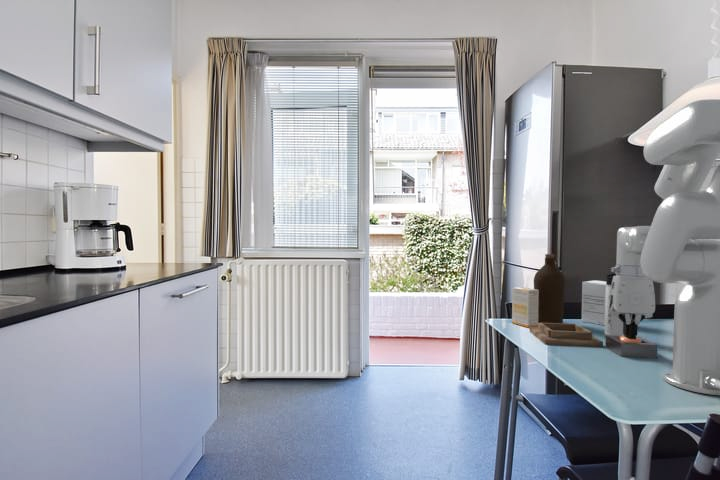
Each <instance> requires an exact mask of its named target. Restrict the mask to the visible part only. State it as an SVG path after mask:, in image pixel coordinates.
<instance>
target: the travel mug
mask: <svg viewBox="0 0 720 480" xmlns="http://www.w3.org/2000/svg"><path fill="white" fill-rule="evenodd" d="M614 276H616V274H615V272H612V273H611V274H606V278H605V279H606V281H605V282H606V302H605V325H604V337H605V338H606V335H614V336H624V334H623V322H622V321H621V320H620V319H619V318H618V317H614V316H611V315H610V314H609V312H610V307H609V297H610V289H611V284H612V280H613V277H614ZM617 313H618V312H617Z"/></svg>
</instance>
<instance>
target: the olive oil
mask: <svg viewBox="0 0 720 480" xmlns="http://www.w3.org/2000/svg"><path fill="white" fill-rule="evenodd" d="M544 256H545V257H544V264H543V266H542V267H540V269H538V270H537V272H536V273H535V274H534V277H533V289H537V290H539V298H538V323H539V322H540V323H564V308H565V307H564V306H565V294H566V285H567V283H566V278H565V275H564V273H563V272H562V271H561V270H560V269H559V268H558V267H557V266H556V264H555V263H556V258H555V256H556V255H555V253H554V254H553V253H545V255H544Z"/></svg>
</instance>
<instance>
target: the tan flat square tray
mask: <svg viewBox="0 0 720 480" xmlns="http://www.w3.org/2000/svg"><path fill="white" fill-rule="evenodd" d="M529 333H531V334H532V335H533V336H535V337H536V338H537V339H538V340H539V341H540V342H542V343H543V344H544V345H554V346H557V345H558V346H575V347H576V346H577V347H578V346H579V347H599V348H600V347H601V348H602V347H603V346H604V341H602V339H599V338H597V337H596V336H593V331H592V330H589V329H587V328H585V327H584V326H582V325H580V324H577V323H566V322H565V323H564V322H563V323H540V322H539V323H538V327H530V328H529Z"/></svg>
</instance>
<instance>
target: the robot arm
mask: <svg viewBox="0 0 720 480" xmlns="http://www.w3.org/2000/svg"><path fill="white" fill-rule="evenodd" d="M719 154H720V99H717V98H716V99H715V98H714V99H700V100H696V101H692V102H690V103H688V104H686V105H684V107H683V106H682V108H680V109H678V110H677V111H676V112H675V113H673V114H671V116H669V117H668V118H666V119H664V120H663V121H662V122H661V123H660V124H659V125H657V126H656V127H655V128H654V129H653V130H652V131H651V132H650V134H649V135H648V137H647V138H646V140H645V143H644V146H643V158H644V160H645V161H646V162H647V163H649V164H650V165H654V166H655V165H656V166H663V168H662V170H661V171H660V174H659V176H658V178H657V180H656V182H655V184H654V187H653V188H654V192H655V194H656V195H657V196H658V197H660V198H661V199H662V202H661V203H660V204H659V206H658V207H657V210H656V212H655V214H654V215H653V219H652V222H651V225H637V226H624V227H623V226H622V227H619V228H618V230H617V232H616V262H615V263H616V264H615V266H612V267H611V268H610V272H612V273H614V274H616V276H614V277H613V280H612V284H611V289H610V297H609V307H610V312H609V314H610V315H611V316H614V317H618V318H619V319H620V320H621V321H622V322H623V334H624V336H625V337H627V338H629V339H636V336H638V329H639V328H638V327H639V325H640V324H641V322H642V321H643V320H645V319H650V318H653V317H654V316H653V314H654V313H655V311H656V294H655V288H654V282H655V283H658V284H659V283H660V284H661V283H662V284H663V283H664V284H683V286H682V287H681V289H679V292H678V294H677V295H676V297H675V300H674V301H675V302H674V312H673V313H674V314H673V316H674V317H673V342H672V346H673V348H672V370H668V371H665V372H664V373H663V379H664V381H665V382H666V383H668V384H670V385H672V386H675V387H677V388H679V389H682V390H686V391H689V392H690V391H691V392H693V393H694V392H695V393H700V394H705V395H711V396H712V395H713V396H720V164H719V165H718V166H717V167H716V169H715V170H714V171H713V174H712V177H711V180H710V182H709V183H708V186H707V187H706V189H705V190H703V191H700V190H701V188H702V187H703V185H704V183H705V181H706V179H707V177H708V176H709V173H710V172H711V170H712V168H713V166H714V164H715V162H716V160H717V158H718V156H719ZM617 312H618V313H617Z"/></svg>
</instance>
